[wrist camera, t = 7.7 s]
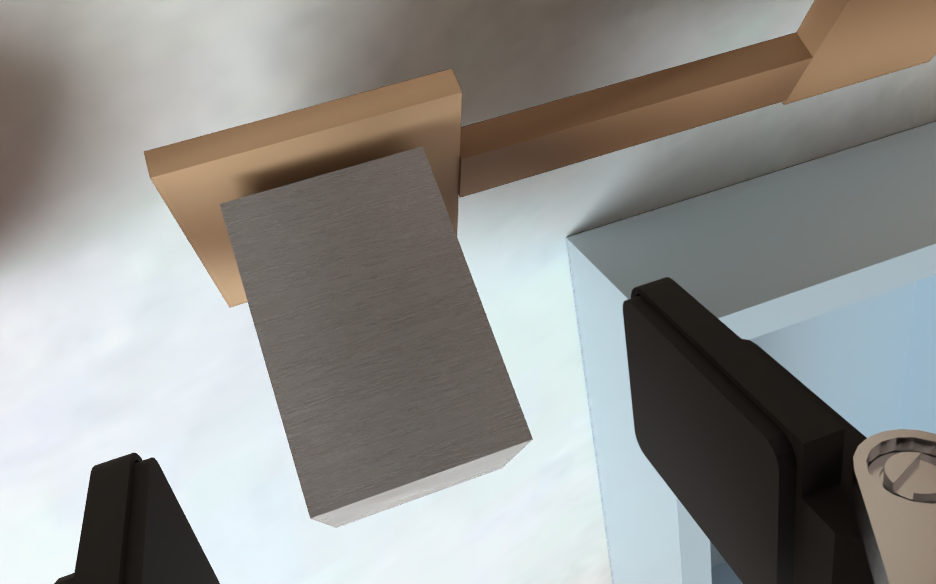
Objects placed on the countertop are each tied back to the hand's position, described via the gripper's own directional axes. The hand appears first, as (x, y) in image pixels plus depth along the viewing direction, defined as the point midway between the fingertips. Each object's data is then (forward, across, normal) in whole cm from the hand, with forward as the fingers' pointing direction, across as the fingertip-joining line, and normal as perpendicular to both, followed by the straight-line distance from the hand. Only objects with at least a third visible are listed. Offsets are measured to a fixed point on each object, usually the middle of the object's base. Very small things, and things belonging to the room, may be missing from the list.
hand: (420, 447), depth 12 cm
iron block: (+7, 0, -1) cm, 7 cm away
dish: (+12, -14, +13) cm, 23 cm away
